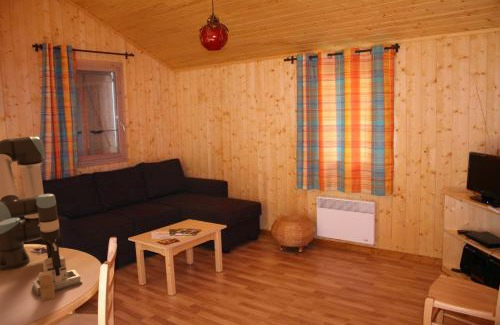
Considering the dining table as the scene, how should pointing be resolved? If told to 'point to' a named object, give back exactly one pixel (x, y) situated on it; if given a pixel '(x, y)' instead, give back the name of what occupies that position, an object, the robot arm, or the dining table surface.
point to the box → (46, 285)
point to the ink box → (49, 265)
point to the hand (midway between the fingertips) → (56, 279)
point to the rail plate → (60, 282)
